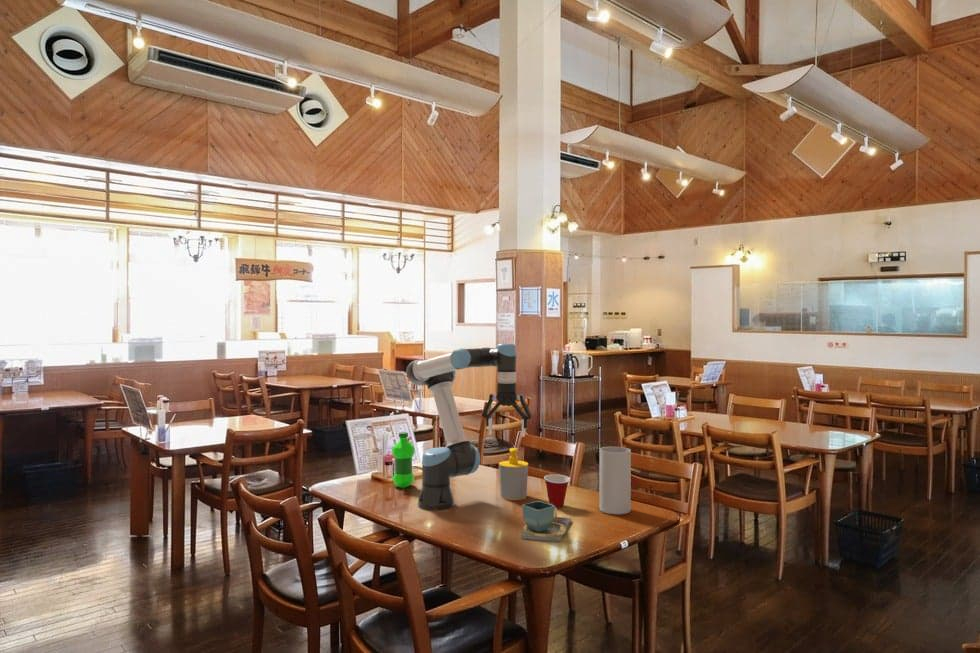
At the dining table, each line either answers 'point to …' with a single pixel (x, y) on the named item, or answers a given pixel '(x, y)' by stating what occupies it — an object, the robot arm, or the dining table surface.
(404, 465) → the plastic bottle
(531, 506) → the flower pot
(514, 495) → the soap bottle
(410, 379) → the robot arm
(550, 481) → the plastic cup
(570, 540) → the dining table surface
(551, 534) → the board
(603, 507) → the cylinder vase
